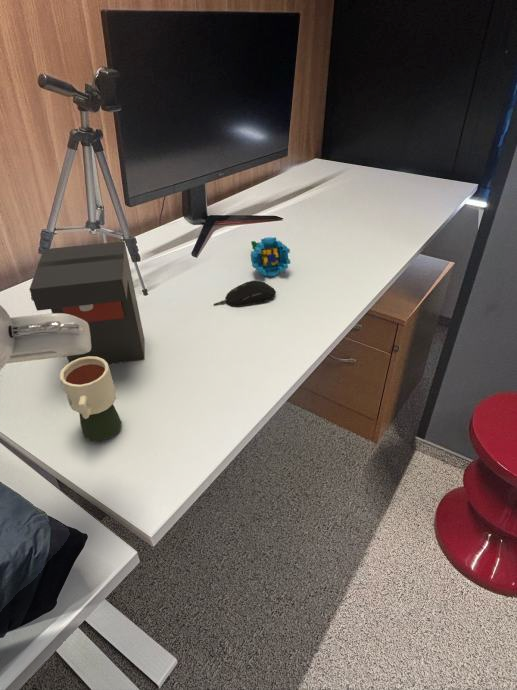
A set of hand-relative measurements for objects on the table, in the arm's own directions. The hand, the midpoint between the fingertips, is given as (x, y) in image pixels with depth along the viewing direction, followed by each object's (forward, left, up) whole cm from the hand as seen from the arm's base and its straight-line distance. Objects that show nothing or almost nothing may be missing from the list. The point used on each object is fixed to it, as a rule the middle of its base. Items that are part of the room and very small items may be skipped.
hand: (14, 354), depth 58 cm
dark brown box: (+5, +26, -24) cm, 36 cm away
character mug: (+5, +9, -24) cm, 26 cm away
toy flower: (+43, +60, -24) cm, 77 cm away
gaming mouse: (+35, +44, -24) cm, 61 cm away
